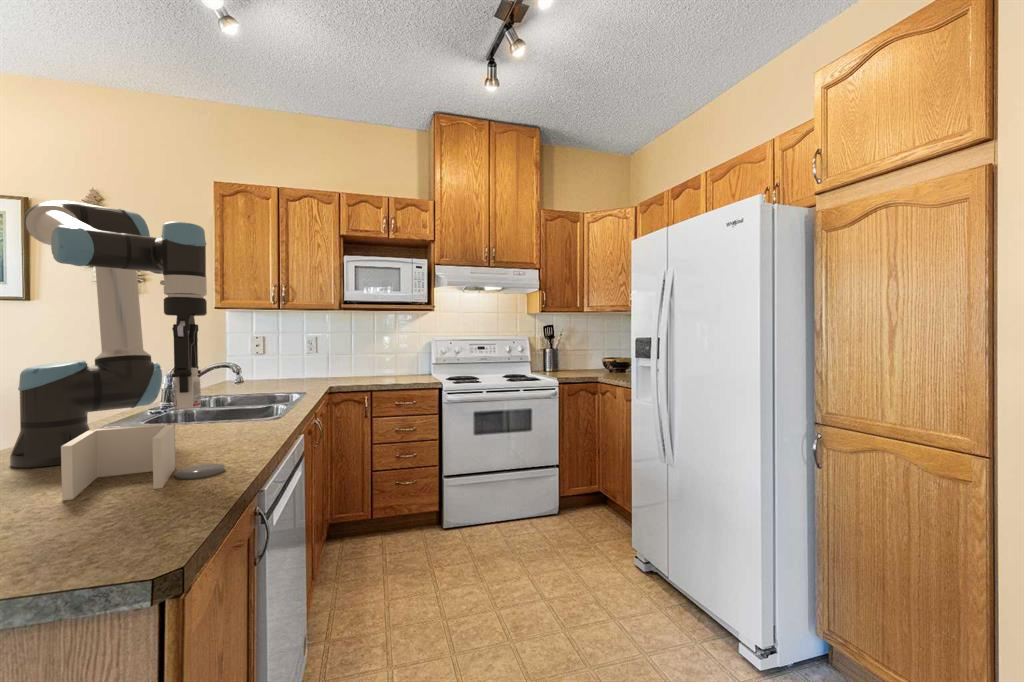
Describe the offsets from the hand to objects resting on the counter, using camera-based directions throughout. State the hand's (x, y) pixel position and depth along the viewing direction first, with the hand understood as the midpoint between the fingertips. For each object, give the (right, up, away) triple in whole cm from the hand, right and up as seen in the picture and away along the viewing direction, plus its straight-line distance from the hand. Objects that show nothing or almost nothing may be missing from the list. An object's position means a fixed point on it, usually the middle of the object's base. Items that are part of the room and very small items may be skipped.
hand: (187, 405), depth 101 cm
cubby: (-10, -15, -4) cm, 19 cm away
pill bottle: (0, -1, 0) cm, 1 cm away
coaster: (+1, -15, +2) cm, 15 cm away
